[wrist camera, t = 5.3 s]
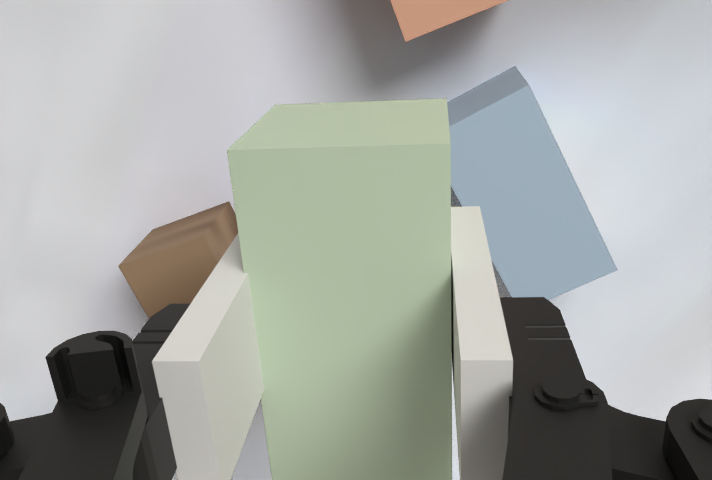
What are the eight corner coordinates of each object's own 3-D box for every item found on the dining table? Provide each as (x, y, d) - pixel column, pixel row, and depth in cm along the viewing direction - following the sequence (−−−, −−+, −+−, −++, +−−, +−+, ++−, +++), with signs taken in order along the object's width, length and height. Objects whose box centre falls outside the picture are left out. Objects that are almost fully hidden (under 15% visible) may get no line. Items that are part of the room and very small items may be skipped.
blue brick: (424, 113, 28) (425, 139, 24) (514, 65, 27) (529, 84, 23) (508, 267, 30) (519, 311, 27) (593, 228, 29) (617, 270, 25)
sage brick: (448, 391, 18) (452, 499, 15) (304, 388, 19) (273, 493, 15) (446, 97, 15) (450, 143, 12) (275, 104, 16) (226, 150, 12)
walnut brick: (154, 228, 31) (118, 265, 27) (230, 200, 30) (203, 235, 26) (230, 365, 34) (206, 416, 30) (301, 343, 33) (286, 393, 29)
